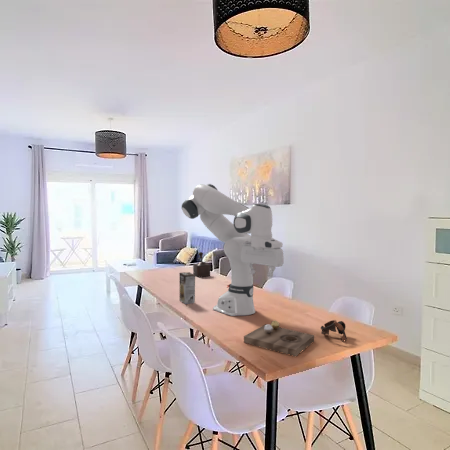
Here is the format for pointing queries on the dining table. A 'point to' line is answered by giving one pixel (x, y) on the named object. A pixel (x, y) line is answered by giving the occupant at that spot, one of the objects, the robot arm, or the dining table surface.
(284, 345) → the seat plate
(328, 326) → the dark brown arched piece
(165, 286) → the dining table surface
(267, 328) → the steel ball
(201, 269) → the manual coffee grinder
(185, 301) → the coffee box
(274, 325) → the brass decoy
